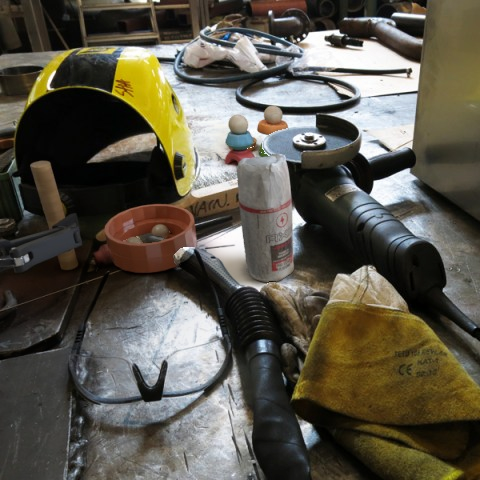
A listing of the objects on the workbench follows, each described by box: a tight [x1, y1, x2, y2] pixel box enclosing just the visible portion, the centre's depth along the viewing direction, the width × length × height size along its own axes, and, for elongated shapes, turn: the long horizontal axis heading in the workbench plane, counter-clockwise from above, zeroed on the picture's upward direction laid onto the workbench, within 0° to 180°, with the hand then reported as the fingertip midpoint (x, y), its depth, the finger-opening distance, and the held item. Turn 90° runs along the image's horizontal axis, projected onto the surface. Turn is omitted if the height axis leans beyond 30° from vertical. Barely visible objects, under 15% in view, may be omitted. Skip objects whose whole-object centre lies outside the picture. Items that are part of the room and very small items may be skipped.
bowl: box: [104, 203, 198, 274], centre depth 82 cm, size 14×14×6 cm
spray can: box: [236, 152, 295, 283], centre depth 75 cm, size 8×8×20 cm
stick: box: [29, 160, 79, 271], centre depth 75 cm, size 3×3×18 cm
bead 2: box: [151, 224, 169, 239], centre depth 85 cm, size 3×3×3 cm
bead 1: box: [126, 237, 143, 243], centre depth 81 cm, size 3×3×3 cm
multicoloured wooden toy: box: [224, 105, 289, 165], centre depth 121 cm, size 18×17×12 cm
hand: (26, 227), depth 68 cm, fingers open, 13 cm apart
